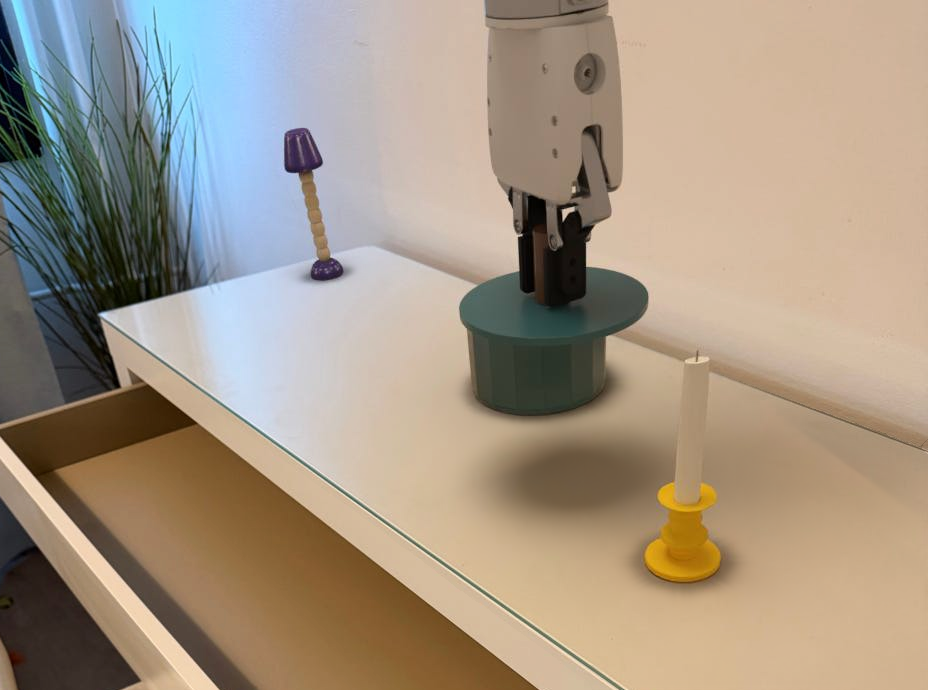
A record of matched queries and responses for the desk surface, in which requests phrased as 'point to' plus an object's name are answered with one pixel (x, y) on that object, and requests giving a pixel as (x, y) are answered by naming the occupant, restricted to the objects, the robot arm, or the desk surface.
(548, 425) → the desk surface
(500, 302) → the lid
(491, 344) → the tin
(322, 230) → the toy lamp
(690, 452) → the candle
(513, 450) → the desk surface
